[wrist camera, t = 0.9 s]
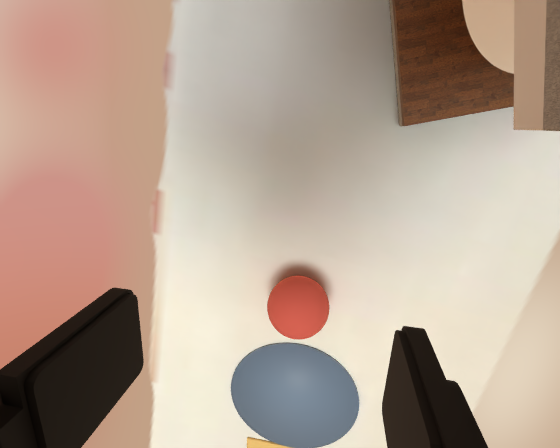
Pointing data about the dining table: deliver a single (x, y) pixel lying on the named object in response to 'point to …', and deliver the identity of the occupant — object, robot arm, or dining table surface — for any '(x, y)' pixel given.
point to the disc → (295, 395)
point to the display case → (477, 59)
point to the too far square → (263, 444)
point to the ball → (298, 307)
